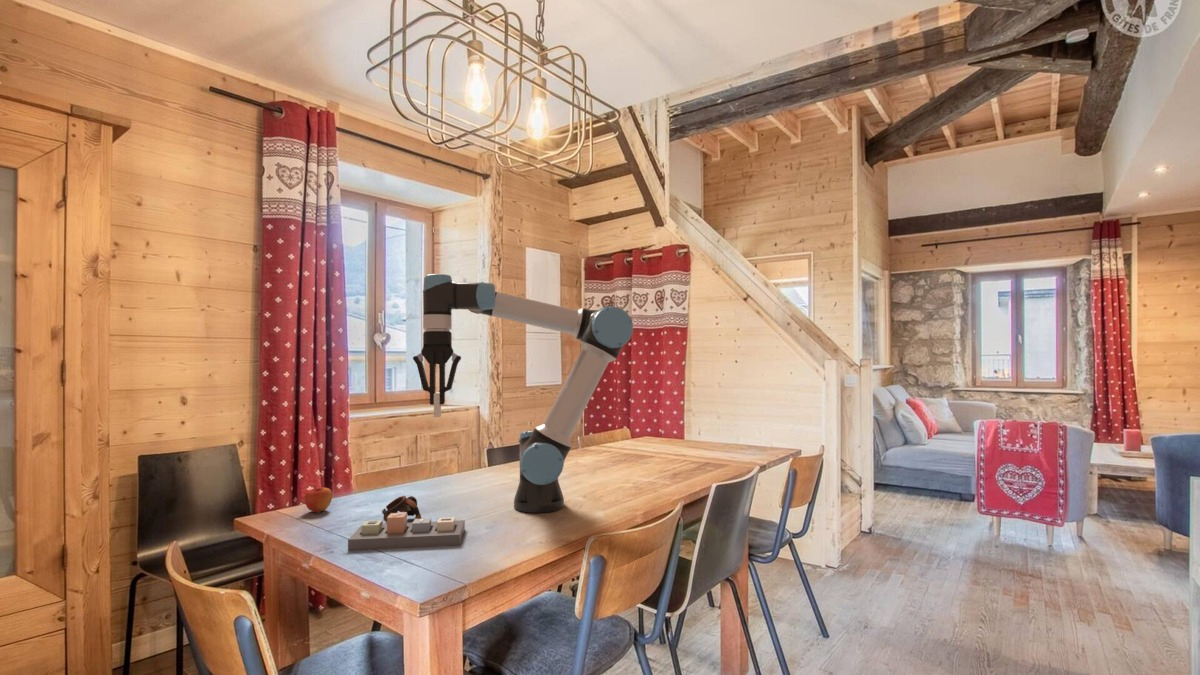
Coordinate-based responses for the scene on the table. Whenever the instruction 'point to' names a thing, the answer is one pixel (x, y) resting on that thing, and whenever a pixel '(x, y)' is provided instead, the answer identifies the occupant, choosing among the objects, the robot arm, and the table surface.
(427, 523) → the slate key
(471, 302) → the robot arm
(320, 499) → the apple
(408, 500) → the dark brown curved piece
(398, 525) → the terracotta key
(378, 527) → the sage key
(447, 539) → the keypad board
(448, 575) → the table surface
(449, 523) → the cream key
